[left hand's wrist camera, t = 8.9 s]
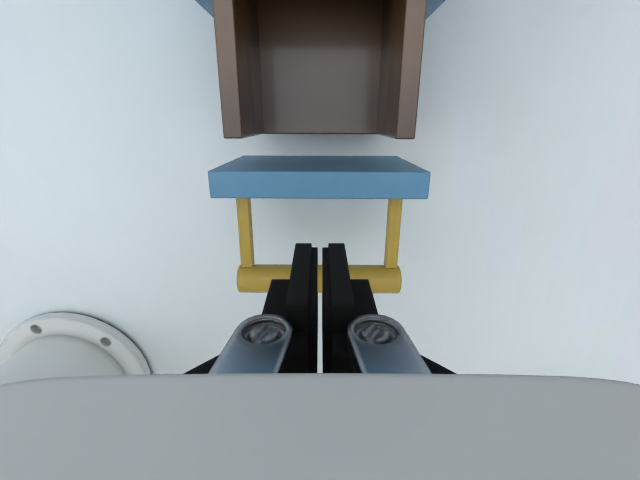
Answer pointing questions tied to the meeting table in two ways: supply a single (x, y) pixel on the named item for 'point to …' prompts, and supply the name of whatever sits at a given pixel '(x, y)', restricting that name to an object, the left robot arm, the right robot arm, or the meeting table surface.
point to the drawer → (319, 110)
